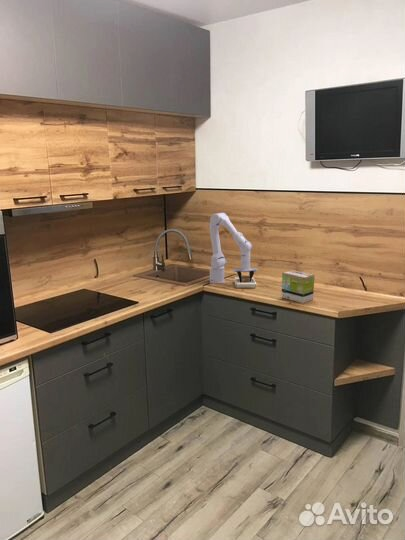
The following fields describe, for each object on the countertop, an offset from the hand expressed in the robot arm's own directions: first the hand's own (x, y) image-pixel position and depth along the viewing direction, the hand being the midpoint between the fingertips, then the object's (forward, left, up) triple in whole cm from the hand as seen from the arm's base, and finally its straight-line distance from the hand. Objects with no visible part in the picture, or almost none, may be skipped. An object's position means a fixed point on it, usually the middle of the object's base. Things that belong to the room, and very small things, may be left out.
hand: (245, 283), depth 285 cm
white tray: (0, 0, -2) cm, 2 cm away
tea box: (+26, -29, -2) cm, 39 cm away
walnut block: (0, 0, -1) cm, 1 cm away
